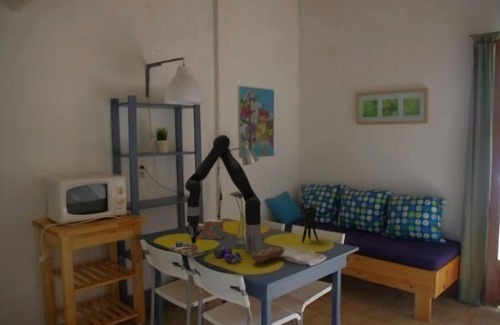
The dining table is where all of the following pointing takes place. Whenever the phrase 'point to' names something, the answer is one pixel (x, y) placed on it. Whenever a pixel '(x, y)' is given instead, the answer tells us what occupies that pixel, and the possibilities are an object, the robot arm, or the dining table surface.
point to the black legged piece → (309, 221)
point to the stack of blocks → (211, 229)
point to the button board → (187, 251)
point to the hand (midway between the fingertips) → (193, 243)
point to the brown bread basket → (267, 253)
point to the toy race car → (227, 254)
